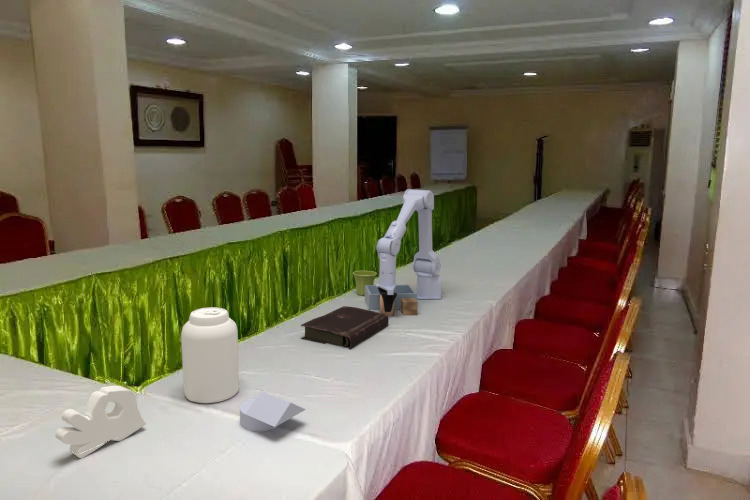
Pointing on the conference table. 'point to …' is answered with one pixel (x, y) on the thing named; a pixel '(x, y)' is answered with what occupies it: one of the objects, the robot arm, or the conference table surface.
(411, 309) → the walnut cube
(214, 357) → the can
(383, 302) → the terracotta cylinder
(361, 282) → the plant pot
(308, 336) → the diary
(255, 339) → the conference table surface
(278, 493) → the conference table surface
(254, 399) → the wedge on round base
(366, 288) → the box
